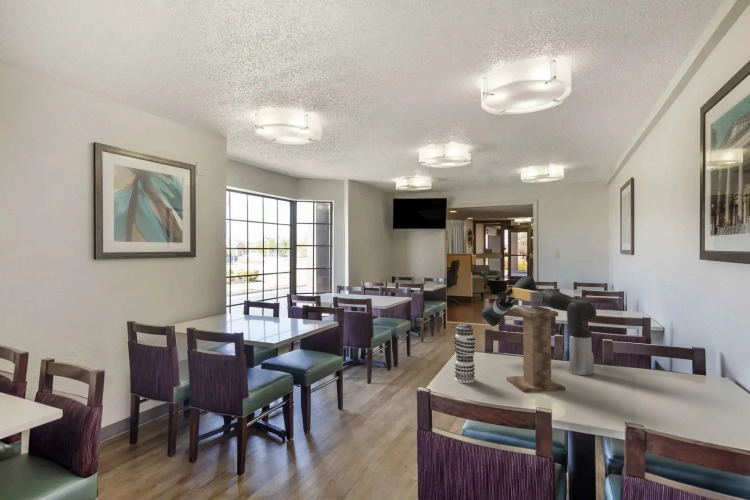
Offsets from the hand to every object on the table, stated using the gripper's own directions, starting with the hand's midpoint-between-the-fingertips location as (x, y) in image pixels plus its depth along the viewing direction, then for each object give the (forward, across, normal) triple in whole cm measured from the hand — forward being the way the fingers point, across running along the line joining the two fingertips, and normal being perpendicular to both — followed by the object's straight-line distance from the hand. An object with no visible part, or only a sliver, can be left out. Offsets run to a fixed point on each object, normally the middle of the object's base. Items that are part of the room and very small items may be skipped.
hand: (516, 289), depth 191 cm
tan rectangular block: (+4, 0, -6) cm, 7 cm away
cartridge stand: (-7, 0, -42) cm, 42 cm away
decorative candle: (-16, +27, -36) cm, 48 cm away
